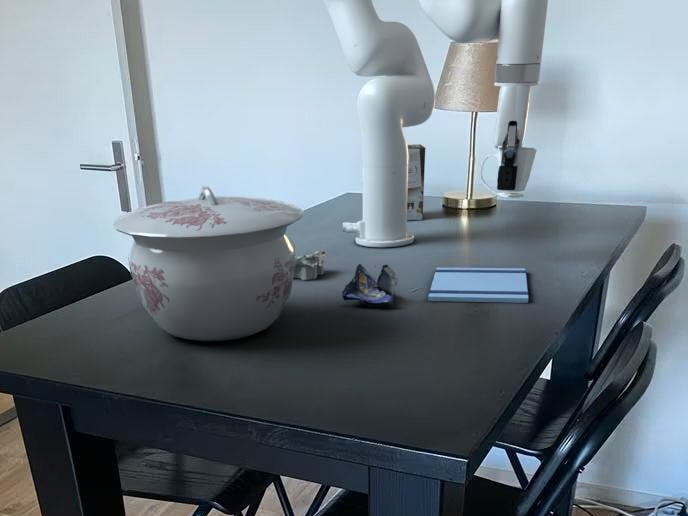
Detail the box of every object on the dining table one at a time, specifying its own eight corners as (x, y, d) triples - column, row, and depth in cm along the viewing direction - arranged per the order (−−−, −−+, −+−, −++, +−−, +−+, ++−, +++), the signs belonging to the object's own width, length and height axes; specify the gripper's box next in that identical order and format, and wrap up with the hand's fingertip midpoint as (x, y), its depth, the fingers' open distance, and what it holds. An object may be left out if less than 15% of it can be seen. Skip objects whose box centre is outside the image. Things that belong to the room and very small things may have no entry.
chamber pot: (239, 370, 106) (225, 206, 96) (91, 342, 119) (65, 195, 109) (342, 314, 126) (340, 175, 116) (206, 296, 139) (193, 168, 129)
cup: (525, 199, 143) (531, 150, 139) (471, 195, 147) (476, 148, 143) (535, 195, 148) (541, 147, 144) (483, 191, 152) (487, 145, 149)
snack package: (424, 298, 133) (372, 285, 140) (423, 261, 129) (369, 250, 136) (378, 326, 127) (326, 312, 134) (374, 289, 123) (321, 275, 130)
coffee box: (423, 220, 192) (426, 147, 184) (397, 221, 193) (398, 148, 184) (419, 213, 200) (421, 143, 192) (393, 214, 200) (395, 144, 192)
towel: (428, 301, 131) (428, 295, 131) (436, 271, 148) (436, 266, 148) (527, 303, 128) (528, 297, 127) (524, 272, 145) (525, 267, 144)
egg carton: (328, 272, 151) (328, 250, 149) (310, 282, 145) (310, 259, 143) (279, 268, 155) (278, 246, 153) (260, 277, 149) (259, 255, 147)
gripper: (495, 73, 145) (485, 179, 155) (494, 78, 131) (484, 194, 140) (537, 73, 144) (525, 179, 153) (541, 78, 129) (528, 195, 139)
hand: (505, 185), depth 147 cm, fingers closed on cup, 6 cm apart
